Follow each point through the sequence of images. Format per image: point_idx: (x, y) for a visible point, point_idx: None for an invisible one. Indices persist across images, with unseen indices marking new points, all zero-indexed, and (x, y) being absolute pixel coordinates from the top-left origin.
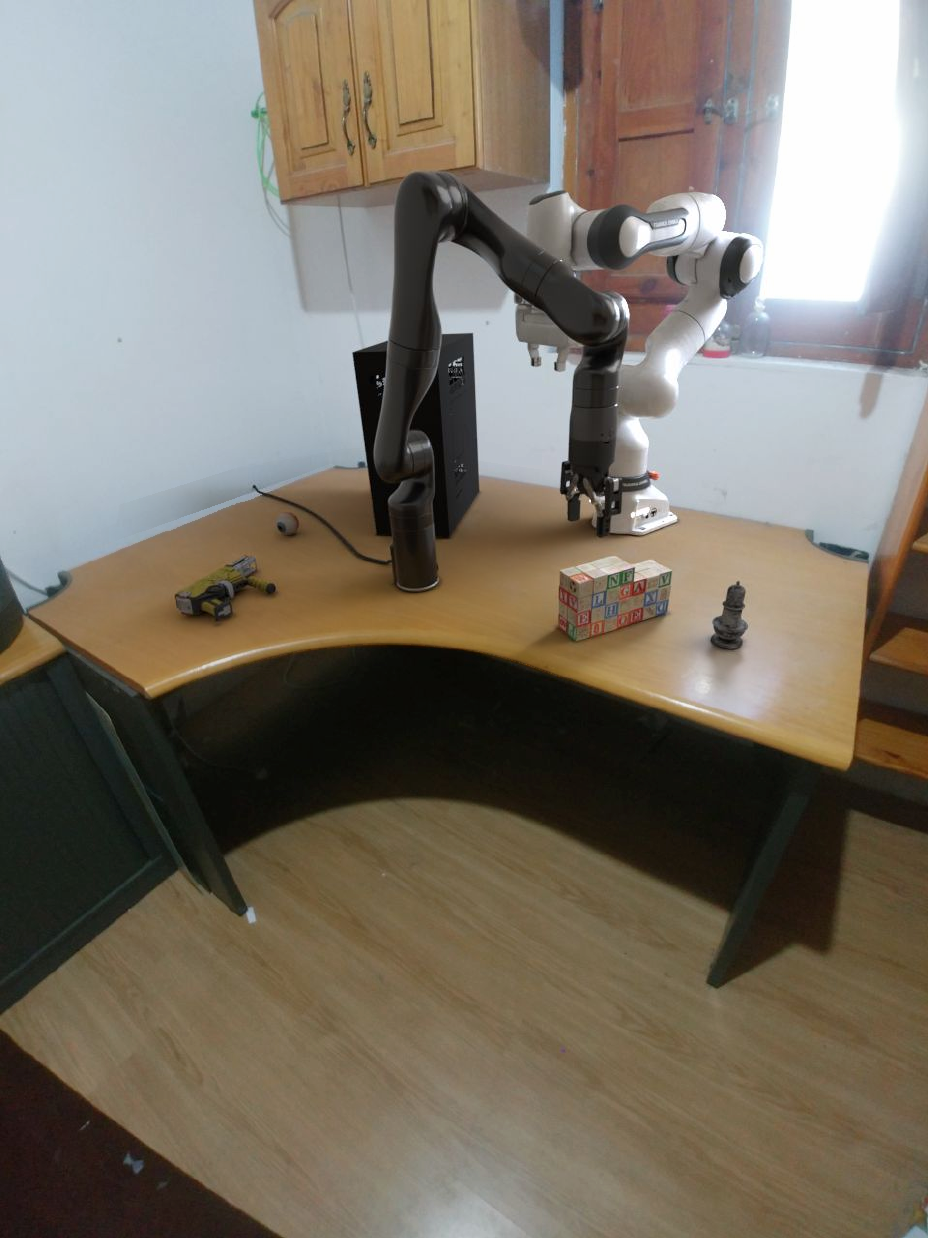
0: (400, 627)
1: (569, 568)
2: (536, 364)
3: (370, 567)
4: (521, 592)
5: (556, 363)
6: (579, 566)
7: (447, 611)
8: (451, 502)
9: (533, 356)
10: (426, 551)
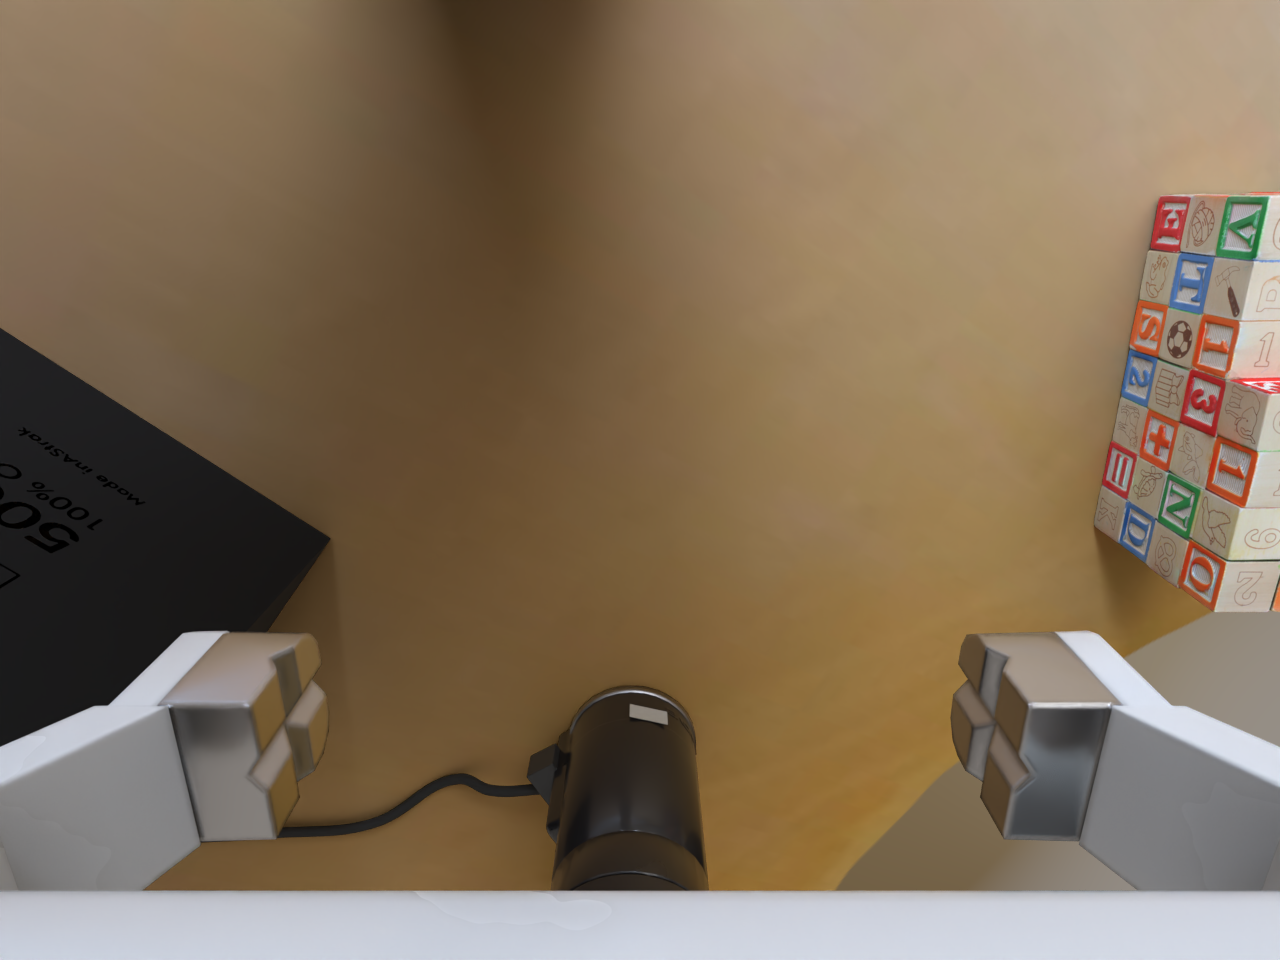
0: (841, 841)
1: (1227, 581)
2: (318, 724)
3: (455, 813)
4: (857, 514)
5: (1073, 824)
6: (1242, 547)
7: (835, 728)
8: (218, 555)
9: (182, 829)
10: (700, 814)
